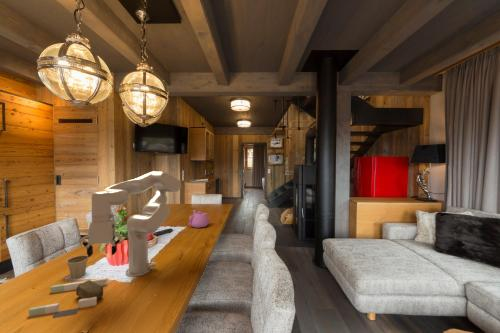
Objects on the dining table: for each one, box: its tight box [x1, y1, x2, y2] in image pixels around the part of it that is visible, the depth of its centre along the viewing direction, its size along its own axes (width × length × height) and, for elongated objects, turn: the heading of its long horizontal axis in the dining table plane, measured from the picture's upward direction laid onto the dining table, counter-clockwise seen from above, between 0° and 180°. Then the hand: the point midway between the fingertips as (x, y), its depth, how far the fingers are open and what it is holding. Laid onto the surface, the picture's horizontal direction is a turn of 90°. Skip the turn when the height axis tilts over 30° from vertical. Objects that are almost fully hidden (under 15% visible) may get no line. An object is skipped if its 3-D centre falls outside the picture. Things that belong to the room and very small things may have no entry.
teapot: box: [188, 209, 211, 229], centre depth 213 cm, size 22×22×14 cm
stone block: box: [75, 279, 104, 301], centre depth 98 cm, size 6×12×5 cm, turn 66°
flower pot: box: [65, 254, 90, 278], centre depth 118 cm, size 9×9×9 cm
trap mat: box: [52, 307, 81, 319], centre depth 88 cm, size 8×4×1 cm, turn 110°
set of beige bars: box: [28, 277, 108, 318], centre depth 98 cm, size 22×18×3 cm
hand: (102, 254), depth 103 cm, fingers open, 9 cm apart
